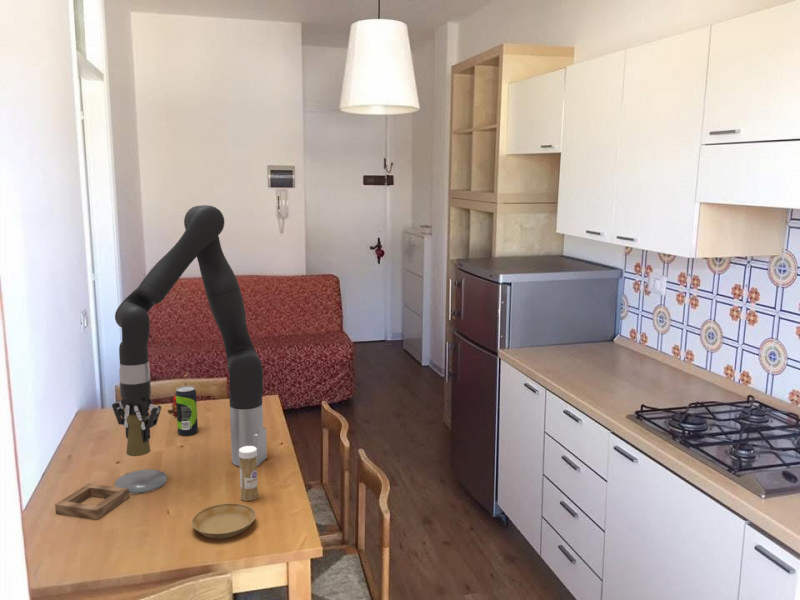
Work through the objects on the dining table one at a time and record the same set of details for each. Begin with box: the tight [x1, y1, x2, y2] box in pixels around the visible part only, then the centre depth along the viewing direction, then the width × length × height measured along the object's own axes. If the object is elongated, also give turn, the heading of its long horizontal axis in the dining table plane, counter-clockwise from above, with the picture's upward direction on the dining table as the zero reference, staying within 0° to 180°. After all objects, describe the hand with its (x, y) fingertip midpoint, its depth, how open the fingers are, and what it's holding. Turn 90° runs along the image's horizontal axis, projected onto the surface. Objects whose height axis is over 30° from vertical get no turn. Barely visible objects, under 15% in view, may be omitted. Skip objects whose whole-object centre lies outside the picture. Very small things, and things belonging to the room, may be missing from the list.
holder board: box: [54, 482, 130, 521], centre depth 169 cm, size 12×12×2 cm
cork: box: [126, 414, 151, 457], centre depth 179 cm, size 6×6×11 cm
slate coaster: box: [114, 469, 168, 495], centre depth 181 cm, size 13×13×1 cm
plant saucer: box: [191, 502, 257, 540], centre depth 159 cm, size 15×15×3 cm
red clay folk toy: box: [171, 372, 190, 418], centre depth 233 cm, size 8×7×15 cm
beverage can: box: [175, 385, 199, 437], centre depth 216 cm, size 6×6×15 cm
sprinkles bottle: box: [239, 446, 259, 502], centre depth 172 cm, size 5×5×13 cm
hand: (138, 440), depth 179 cm, fingers closed on cork, 3 cm apart
